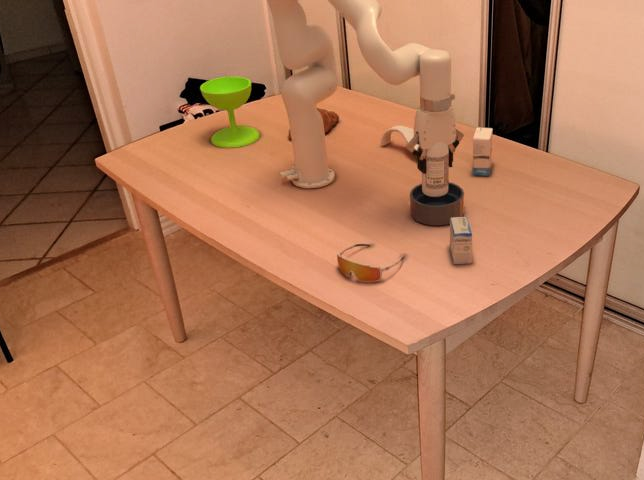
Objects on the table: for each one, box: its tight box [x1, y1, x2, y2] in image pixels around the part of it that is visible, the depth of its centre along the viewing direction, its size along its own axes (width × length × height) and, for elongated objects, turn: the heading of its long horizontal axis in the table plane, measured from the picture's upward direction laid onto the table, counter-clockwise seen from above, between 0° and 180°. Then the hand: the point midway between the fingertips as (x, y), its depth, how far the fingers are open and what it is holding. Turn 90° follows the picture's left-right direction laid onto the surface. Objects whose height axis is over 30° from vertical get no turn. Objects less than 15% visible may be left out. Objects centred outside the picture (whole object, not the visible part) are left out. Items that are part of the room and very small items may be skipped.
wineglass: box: [199, 76, 261, 149], centre depth 230 cm, size 16×16×18 cm
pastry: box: [288, 107, 340, 141], centre depth 236 cm, size 17×15×8 cm
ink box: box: [472, 126, 494, 177], centre depth 207 cm, size 9×5×12 cm, turn 168°
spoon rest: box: [380, 125, 419, 150], centre depth 219 cm, size 24×12×7 cm, turn 56°
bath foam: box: [421, 142, 450, 197], centre depth 180 cm, size 7×7×20 cm
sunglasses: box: [336, 242, 405, 283], centre depth 169 cm, size 14×15×5 cm
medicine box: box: [449, 216, 473, 265], centre depth 170 cm, size 8×4×9 cm, turn 5°
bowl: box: [409, 181, 465, 226], centre depth 188 cm, size 14×14×6 cm
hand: (435, 167), depth 182 cm, fingers closed on bath foam, 6 cm apart
